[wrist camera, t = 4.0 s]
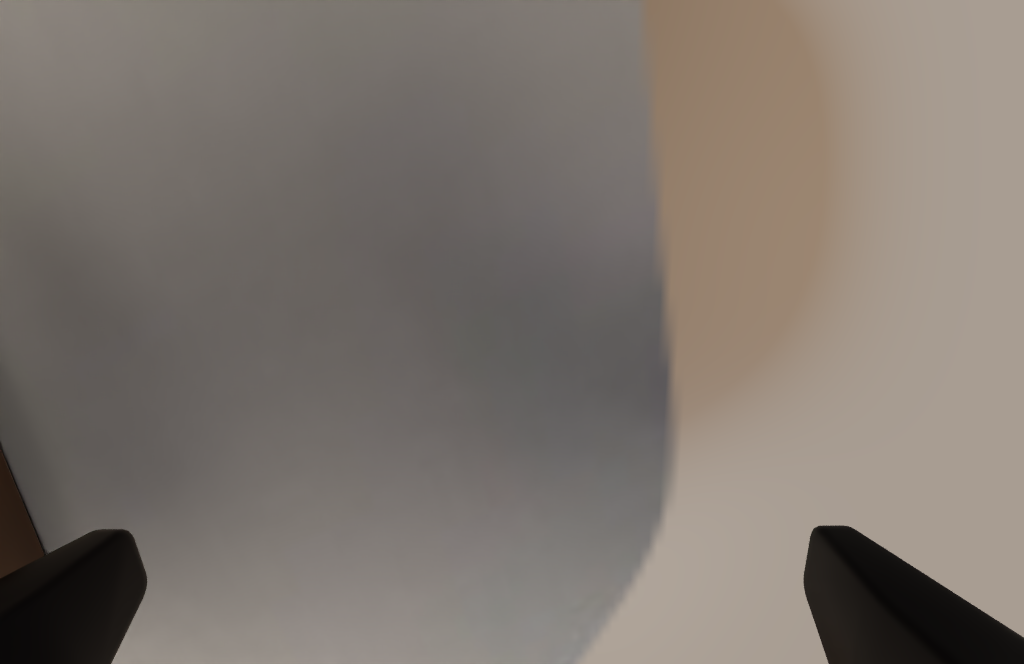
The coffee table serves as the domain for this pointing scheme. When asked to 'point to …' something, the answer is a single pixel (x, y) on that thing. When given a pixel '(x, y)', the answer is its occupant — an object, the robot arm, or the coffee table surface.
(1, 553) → the walnut block
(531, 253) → the coffee table surface
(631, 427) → the coffee table surface
